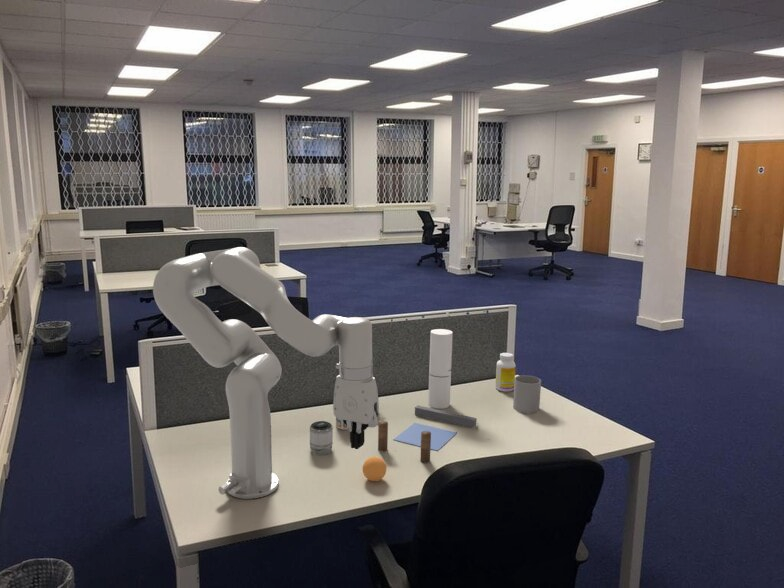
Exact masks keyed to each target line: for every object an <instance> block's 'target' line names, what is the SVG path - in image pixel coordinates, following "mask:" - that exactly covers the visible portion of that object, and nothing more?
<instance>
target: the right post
mask: <svg viewBox="0 0 784 588" xmlns="http://www.w3.org/2000/svg"><path fill="white" fill-rule="evenodd" d="M430 448H431V432H429V431H422V432H421V447H420V462H421V463H423V464H428V463H430V462H431V449H430Z"/></svg>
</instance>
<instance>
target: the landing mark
mask: <svg viewBox="0 0 784 588" xmlns="http://www.w3.org/2000/svg"><path fill="white" fill-rule="evenodd" d="M422 431H429V432H431V448H430V451H431V450H432V451H435V452H438V451H440V450H441V449H442V448H443V447H444V446H445V445H446V444H447V443H448V442H449V441H451V439H452V438H454V437H455V435H457V434H458V432H457V431H452V430H448V429H444V428H440V427H435V426H431V425H426V424H423V423H417V422H414V423H412V424H411V425H410V426H408V427H407V428H406V429H405V430H403V431H402V432H401V433H400V434H399V435H397V436H395V437H394V438H393V441H395V442H399V443H404V444H407V445H412V446H415V447H420V448H421V432H422Z"/></svg>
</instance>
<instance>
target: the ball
mask: <svg viewBox="0 0 784 588" xmlns="http://www.w3.org/2000/svg"><path fill="white" fill-rule="evenodd" d="M362 473H363V475H364V477H365V478H366V479H367V480H368V481H370V482H378V481H381V480H382V479H383V478H384V477H386V476H385V475H386V473H387V464H386V462H385V461H384V459H382V458H381V457H380V456H370V457H368V458H367V459H366V460H365V461H364V462H363V465H362Z"/></svg>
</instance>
